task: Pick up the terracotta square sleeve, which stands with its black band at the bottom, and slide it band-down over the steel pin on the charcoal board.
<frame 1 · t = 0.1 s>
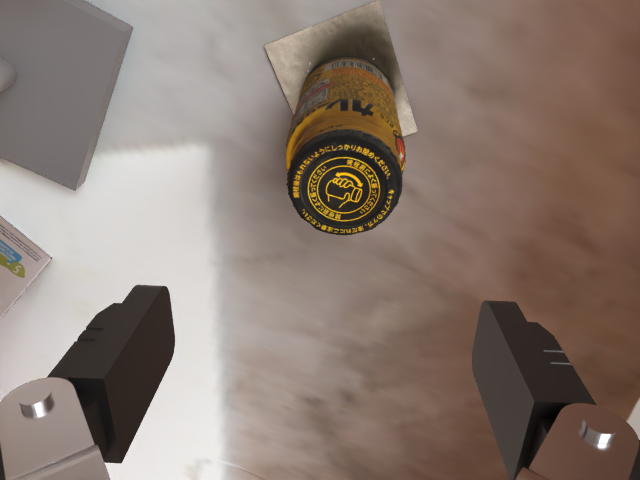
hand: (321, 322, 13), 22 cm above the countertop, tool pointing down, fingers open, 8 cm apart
pin board: (15, 65, 32), on the countertop
condiment: (343, 88, 32), on the countertop
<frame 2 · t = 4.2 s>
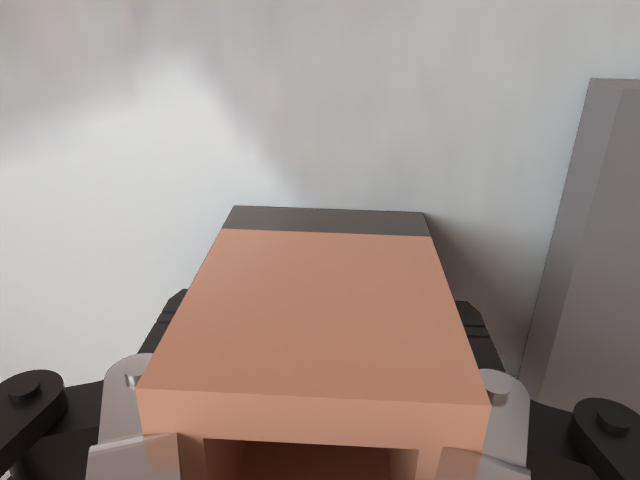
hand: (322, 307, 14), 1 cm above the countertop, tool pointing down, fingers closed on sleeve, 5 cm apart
sleeve: (325, 289, 14), on the countertop, touching gripper
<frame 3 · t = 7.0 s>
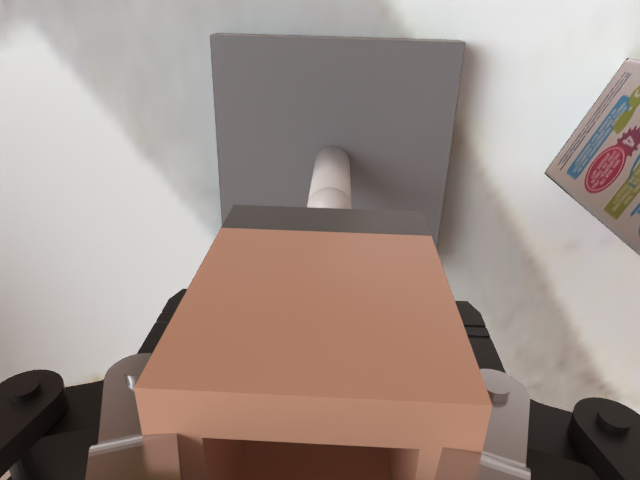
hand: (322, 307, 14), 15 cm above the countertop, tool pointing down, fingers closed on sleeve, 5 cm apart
sleeve: (325, 289, 14), point 15 cm above the countertop, touching gripper
pin board: (332, 154, 28), on the countertop
juice carton: (632, 145, 27), on the countertop
when the fingers open (4 cm above the countertop, at t = 9.9 s): sleeve drops 1 cm, resting on pin board.
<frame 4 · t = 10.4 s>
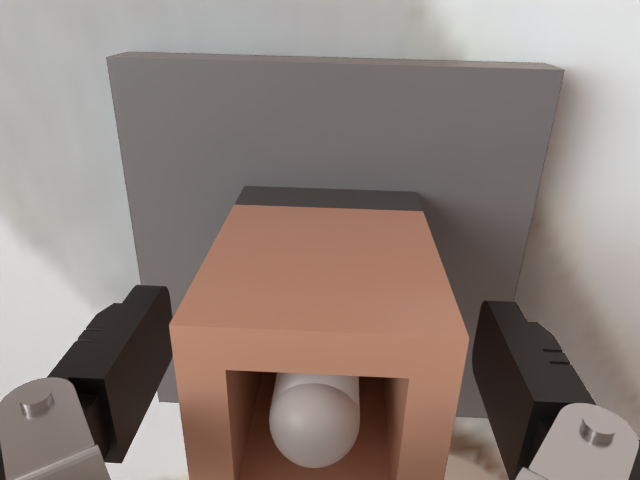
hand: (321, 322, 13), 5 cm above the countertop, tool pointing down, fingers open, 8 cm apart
sleeve: (327, 264, 16), point 1 cm above the countertop, touching pin board
pin board: (327, 244, 17), on the countertop
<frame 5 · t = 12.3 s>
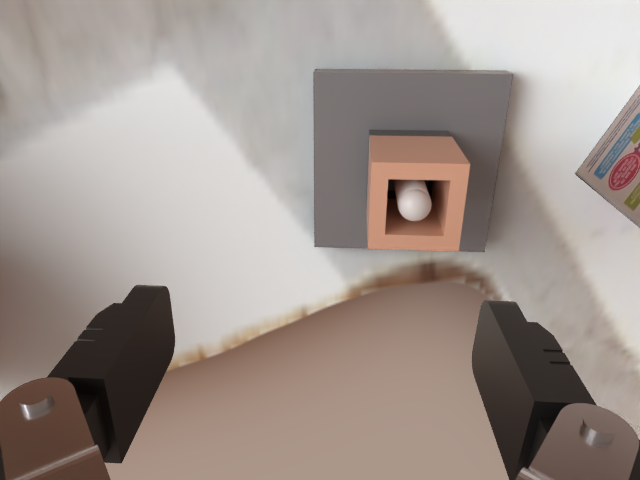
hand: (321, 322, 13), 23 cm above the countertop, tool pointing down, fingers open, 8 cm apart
sleeve: (405, 167, 33), point 1 cm above the countertop, touching pin board
pin board: (403, 161, 35), on the countertop
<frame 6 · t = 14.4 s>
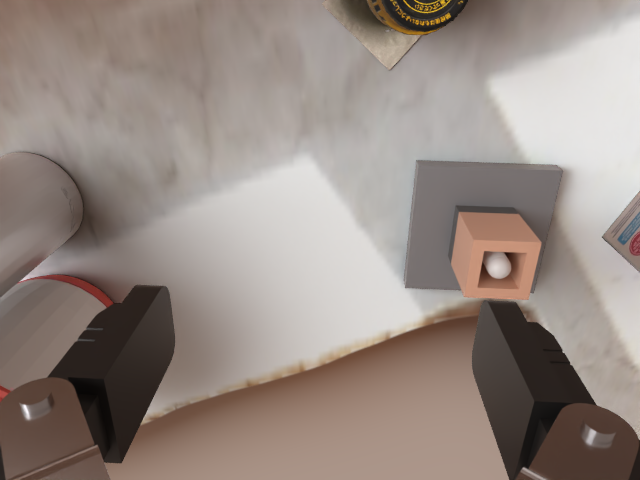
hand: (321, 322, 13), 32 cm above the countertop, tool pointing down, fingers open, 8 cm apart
sleeve: (479, 232, 45), point 1 cm above the countertop, touching pin board
pin board: (475, 225, 46), on the countertop
citrus juicer: (65, 322, 53), on the countertop
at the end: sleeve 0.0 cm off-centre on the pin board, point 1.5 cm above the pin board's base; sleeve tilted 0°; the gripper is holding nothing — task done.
